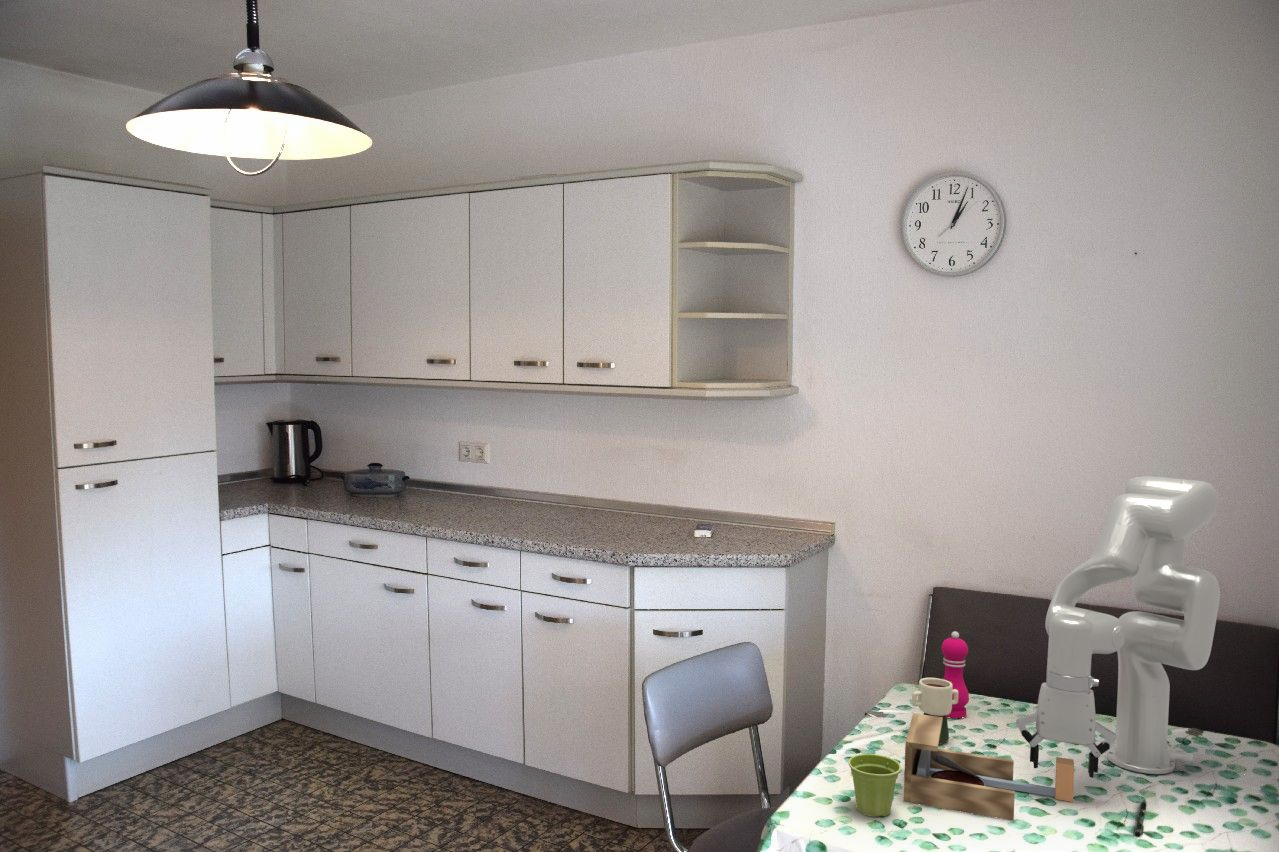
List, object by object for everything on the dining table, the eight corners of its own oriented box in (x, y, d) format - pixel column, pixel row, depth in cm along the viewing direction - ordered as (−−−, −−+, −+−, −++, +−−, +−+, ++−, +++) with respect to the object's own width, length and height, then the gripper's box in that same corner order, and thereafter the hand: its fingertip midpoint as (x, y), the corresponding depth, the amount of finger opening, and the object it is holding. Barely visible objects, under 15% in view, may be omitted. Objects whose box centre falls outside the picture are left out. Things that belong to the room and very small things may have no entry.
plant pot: (890, 827, 166) (892, 778, 166) (839, 813, 171) (841, 766, 171) (906, 807, 174) (907, 761, 174) (856, 794, 179) (858, 749, 179)
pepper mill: (970, 721, 219) (973, 636, 218) (938, 718, 221) (941, 634, 220) (966, 710, 227) (969, 628, 226) (934, 708, 228) (937, 626, 227)
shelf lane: (1012, 785, 185) (1015, 727, 184) (1013, 820, 169) (1016, 758, 169) (911, 768, 192) (913, 713, 191) (903, 801, 176) (905, 741, 176)
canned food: (928, 812, 183) (919, 758, 187) (981, 808, 183) (970, 754, 187) (941, 808, 173) (931, 751, 177) (997, 804, 172) (985, 747, 177)
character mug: (948, 733, 212) (950, 676, 211) (964, 745, 205) (967, 686, 204) (903, 735, 210) (905, 678, 209) (918, 748, 203) (920, 688, 202)
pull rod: (1071, 795, 180) (1073, 759, 180) (1077, 826, 167) (1078, 788, 167) (922, 771, 190) (923, 737, 190) (916, 799, 177) (917, 762, 177)
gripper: (1116, 682, 178) (1111, 771, 179) (1018, 669, 185) (1013, 755, 185) (1121, 693, 171) (1115, 786, 172) (1019, 679, 178) (1014, 769, 178)
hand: (1062, 770), depth 179 cm, fingers open, 9 cm apart
